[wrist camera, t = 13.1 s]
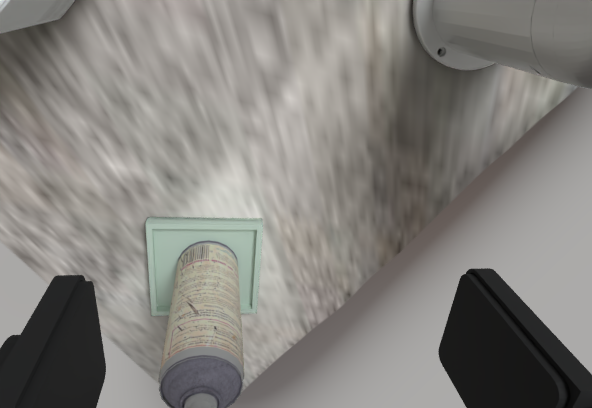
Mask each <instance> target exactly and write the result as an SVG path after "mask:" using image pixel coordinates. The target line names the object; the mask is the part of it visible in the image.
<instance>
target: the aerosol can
mask: <svg viewBox="0 0 592 408" xmlns="http://www.w3.org/2000/svg"><path fill="white" fill-rule="evenodd" d="M243 379H244V360H243V342H242V324H241V306H240V288H239V270H238V261H237V257H236V255H235V254H234V252H233V251H232V250H231V249H230V248H229V247H228V246H227V245H224V244H222V243H220V242H217V241H210V240H207V241H199V242H196V243H194V244H192V245H189V246H188V247H187V248H186V249H185V250H184V251H183V252H182V253H181V255H180V257H179V258H178V264H177V270H176V276H175V282H174V289H173V295H172V301H171V307H170V313H169V319H168V326H167V332H166V338H165V344H164V350H163V356H162V363H161V369H160V375H159V383H160V387H159V391H160V394H161V398H162V400H163V401H164V402H165V403H166V404H167V405H168V406H169V407H170V408H227V407H229V406H230V405H231V404H233V403H234V402H235V401H236V400H237V398H238V397H239V396H240V394H241V391H242V387H243Z"/></svg>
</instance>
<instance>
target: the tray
mask: <svg viewBox="0 0 592 408" xmlns="http://www.w3.org/2000/svg"><path fill="white" fill-rule="evenodd" d="M262 232H263V222H262V219H258V218H177V217H148V218H147V221H146V239H147V254H148V270H149V285H150V301H151V316H169V313H170V307H171V301H172V295H173V289H174V282H175V276H176V270H177V264H178V258H179V257H180V255H181V253H182V252H183V251H184V250H185V249H186V248H187V247H188V246H189V245H192V244H194V243H196V242H199V241H207V240H210V241H217V242H220V243H222V244H224V245H227V246H228V247H229V248H230V249H231V250H232V251H233V252H234V254H235V255H236V257H237V261H238V270H239V288H240V306H241V314H249V313H257V303H258V288H259V274H260V260H261V246H262Z"/></svg>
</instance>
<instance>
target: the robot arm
mask: <svg viewBox="0 0 592 408" xmlns="http://www.w3.org/2000/svg"><path fill="white" fill-rule="evenodd" d="M413 20H414V26H415V30H416V33H417V37H418V39H419V41H420V43H421V44H422V46H423V48H424V49H425V50H426V52H427V53H428V54H429V55H430V56H431V57H432V58H434V59H435V60H436V61H438V62H439V63H441V64H443V65H445V66H448V67H451V68H454V69H457V70H476V69H482V68H485V67H488V66H491V65H493V64H495V63H498V64H501V65H505V66H508V67H511V68H515V69H518V70H522V71H525V72H529V73H532V74H536V75H539V76H542V77H546V78H549V79H553V80H556V81H560V82H564V83H567V84H571V85H574V86H578V87H584V88H590V89H592V0H413ZM438 49H440V52H439V53H437V52H438ZM439 357H440V361H441V363H442V365H443V367H444V369H445V370H446V372H447V374H448V376H449V377H450V379H451V381H452V383H453V384H454V386H455V388H456V389H457V391H458V393H459V395H460V397H461V398H462V400H463V402H464V404H465V406H466V407H467V408H592V375H591V374H590V372H589V371H588V370H587V369H586V368H585V367H584V366H583V365H582V364H581V363H580V362H579V361H578V360H577V358H576V357H575V356H573V354H572V353H571V352H570V351H569V350H568V349H567V348H566V347H565V346H564V345H563V344H562V342H561V341H560V340H558V338H557V337H556V336H555V335H554V334H553V333H552V332H551V331H550V330H549V328H548V327H547V326H546V325H545V324H544V323H543V322H542V321H541V320H540V319H539V318H538V317H537V316H536V315H535V314H534V312H533V311H532V310H531V309H530V308H529V307H528V306H527V305H526V304H525V303H524V302H523V301H522V300H521V299H520V297H519V296H518V295H517V294H516V293H515V292H514V291H513V290H512V289H511V288H510V287H509V286H508V285H507V284H506V282H505V281H504V280H503V279H502V278H501V277H500V276H499V275H498V274H497V273H496V272H495V271H494V270H493V269H469V270H468V271H467V272H466V274H464V275H462V276H461V278H460V281H459V284H458V288H457V291H456V294H455V297H454V301H453V304H452V307H451V311H450V314H449V317H448V321H447V324H446V327H445V330H444V334H443V337H442V340H441V343H440V347H439ZM105 372H106V364H105V358H104V351H103V344H102V337H101V331H100V324H99V317H98V311H97V304H96V298H95V291H94V285H93V282H91V281H85V278H84V276H82V275H64V276H55V277H54V278H53V280H52V282H51V283H50V285H49V287H48V288H47V290H46V292H45V294H44V295H43V297H42V299H41V301H40V302H39V304H38V306H37V308H36V309H35V311H34V313H33V314H32V316H31V318H30V319H29V321H28V323H27V325H26V326H25V328H24V330H23V332H22V333H21V335H12V336H10V337H9V338H8V339H7V340H6V341H5V342H4V344H3V345H2V347H1V348H0V408H96V406H97V403H98V399H99V396H100V393H101V389H102V386H103V383H104V379H105Z"/></svg>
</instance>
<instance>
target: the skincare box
mask: <svg viewBox="0 0 592 408" xmlns="http://www.w3.org/2000/svg"><path fill="white" fill-rule="evenodd" d="M74 2H75V0H0V34H1V33H5V32H9V31H13V30H18V29H21V28H26V27H30V26H34V25H38V24H42V23H46V22H50V21H54V20H59V19H60V18H61V17H62V16H63V15H64V14H65V13H66V11H67V10H68V9H69V8H70V6H71V5H72V4H73V3H74Z"/></svg>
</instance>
